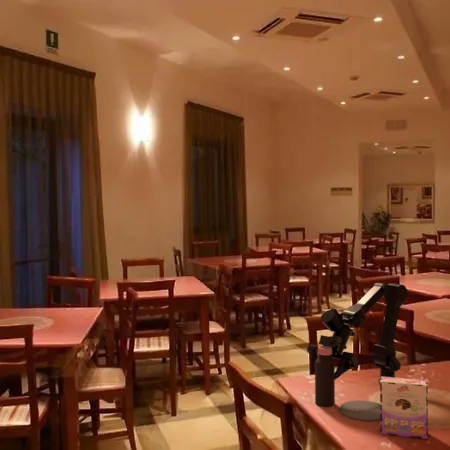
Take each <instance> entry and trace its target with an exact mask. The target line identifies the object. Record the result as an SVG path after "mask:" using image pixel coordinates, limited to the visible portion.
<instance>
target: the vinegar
mask: <svg viewBox="0 0 450 450" xmlns="http://www.w3.org/2000/svg"><path fill="white" fill-rule="evenodd" d="M318 346H319V345H318ZM318 355H319V357H318V358H317V359H316V361H315V372H314V381H315V382H314V401H315V403H314V404H316V405H317V406H319V407H333V406H334V405H335V403H336V401H335V400H336V397H335V396H336V394H335V393H336V392H335V391H336V390H335V388H336V387H335V382H336V381H335V380H334V379H333V377H334V374H335V372H336V369H335V365H336V364H335V363H336V362H335V360H333V358H331V356H332V347H329V346H323V345H320V346H319V347H318Z"/></svg>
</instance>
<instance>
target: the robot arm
mask: <svg viewBox="0 0 450 450" xmlns="http://www.w3.org/2000/svg"><path fill="white" fill-rule="evenodd" d="M407 296H408V289H407V287H406V285H404V284H399V283H392V282H389V283H385V282H376V283H374V284H373V286H372V288H371V289H369V290H368V292H367V293H365V295H363V297H362V298H361V299H360V300H359V301H358V302H357V303H355V304H353V305H350V306H348V307H347V308H345V309H343V310H342V312H340V313H339V311H338V309H336V308H335V307H334V308H333V307H331V308H330V309H329V310H326V311H325V312H324V313H322V315H321V316H320V321H321V322H322V323H323V325H324V326H325V327H326V328H327V329H328V330H329V331H330V332H333V333H332V336H331V335H330V336H328V335H322V334H321V335H320V338H319V342H318V345H316V344H309V345H307V348H306V351H307V353H308V354H309V356H310V357H311V364H310V365H311V367H310V374H311V375H314V374H315V361H316V359H317V358H318V357H319V355H318V347H319V345H320V346H329V347H332V356H331V358H332V359H335V360H339V361H338V366H337V368H336V369H335V374H334V377H333V379H334V380H337V379H338V378H339V377H341V376H342V375H343V374H345V373H346V372H348V371H349V370H353V369H357V368H358V365H359V360H358V359H357V357H356V355H355V354H354V352H348V351H345V350H347V348H348V346H347V343H348V341H349V338H350V337H355V335H356V334H355V331H354V328H359V327H361V325H362V324H363V323H364V321H365V320H366V316H367V313H368V312H369V311H370V310H371V309H372V308H373V307H374V306H375V305H376V304H377V303H378V302H379V301H380V299H382V298H384V301H385V304H386V308H385V312H384V318H383V325H382V329H381V335H380V340H379V342H378V343H377V344H376V343H375V344H373V346H372V347H373V348H372V353H371V355H372V360H373V362H374V365H375V367H378V368H379V378H378V379H377V382H378V384H379V385H380V380H381V376H382V377H394V378H396V372H398V371H400V370H401V367H402V363H400V361H399V360H398V359H397V358H396V357H397V350H396V348H395V345H394V343H395V342H394V341H395V336H396V330H397V324H398V320H399V314H400V309H401V307H402V305H403V304H404V303H405V302H406V299H407ZM351 327H353V328H351Z"/></svg>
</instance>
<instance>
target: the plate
mask: <svg viewBox="0 0 450 450" xmlns="http://www.w3.org/2000/svg"><path fill="white" fill-rule="evenodd" d="M339 411H340V413H341V414H342V415H343V416H345V417H347V418H349V419H353V420H357V421H362V422H380V402H379V403H378V402H375V401H371V400H370V401H369V400H362V399H361V400H348V401H346V402H343V403H341V405H340V409H339Z"/></svg>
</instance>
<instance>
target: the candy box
mask: <svg viewBox="0 0 450 450" xmlns="http://www.w3.org/2000/svg"><path fill="white" fill-rule="evenodd" d="M379 397H380V398H379V399H380V401H379V404H380V420H379V422H380V429H379V434H380V435H388V436H393V437H394V436H396V437H405V438H411V439H414V438H415V439H422V440H428V438H429V423H428V422H429V421H428V420H429V419H428V417H429V415H428V413H429V410H428V409H429V408H428V407H429V406H428V403H429V402H428V401H429V398H428V397H429V396H428V381H427V379H417V378H403V377H395V378H394V377H382V376H381V380H380V384H379Z"/></svg>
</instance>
